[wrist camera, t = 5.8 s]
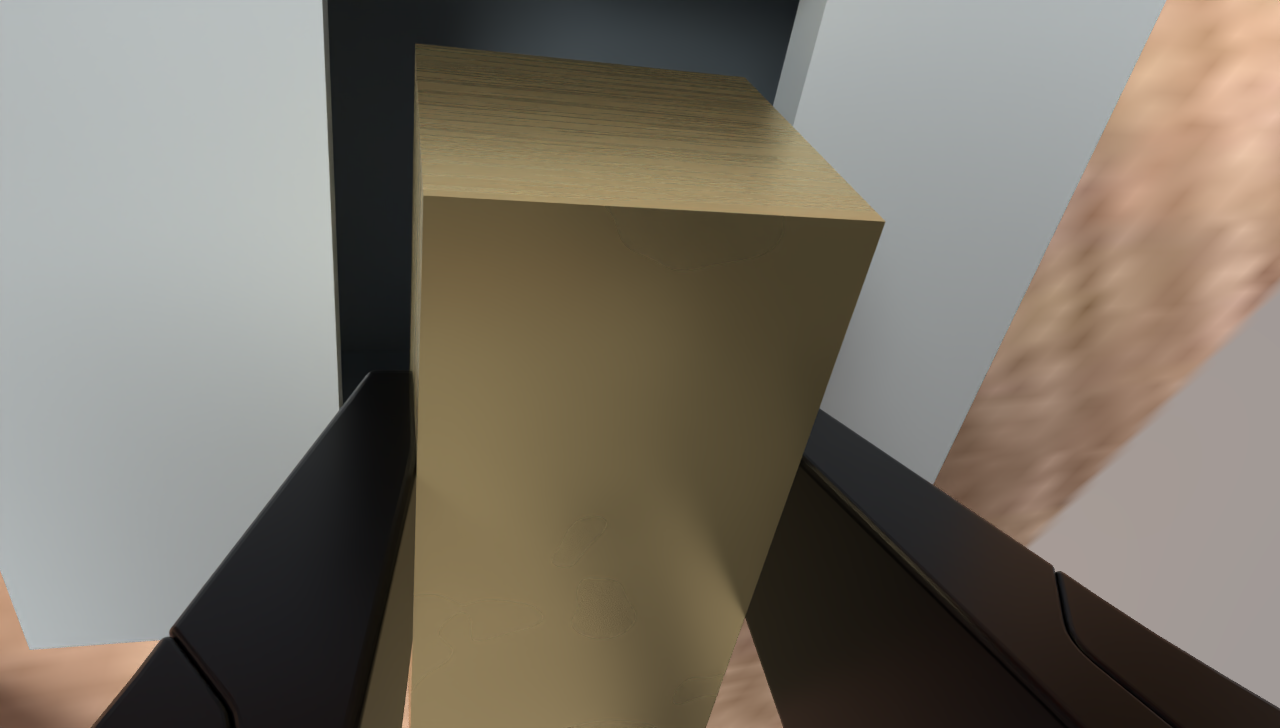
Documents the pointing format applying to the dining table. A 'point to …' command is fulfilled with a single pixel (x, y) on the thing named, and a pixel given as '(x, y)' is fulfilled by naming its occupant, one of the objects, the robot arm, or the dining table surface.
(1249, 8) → the dining table surface
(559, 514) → the wooden block
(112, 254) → the box
